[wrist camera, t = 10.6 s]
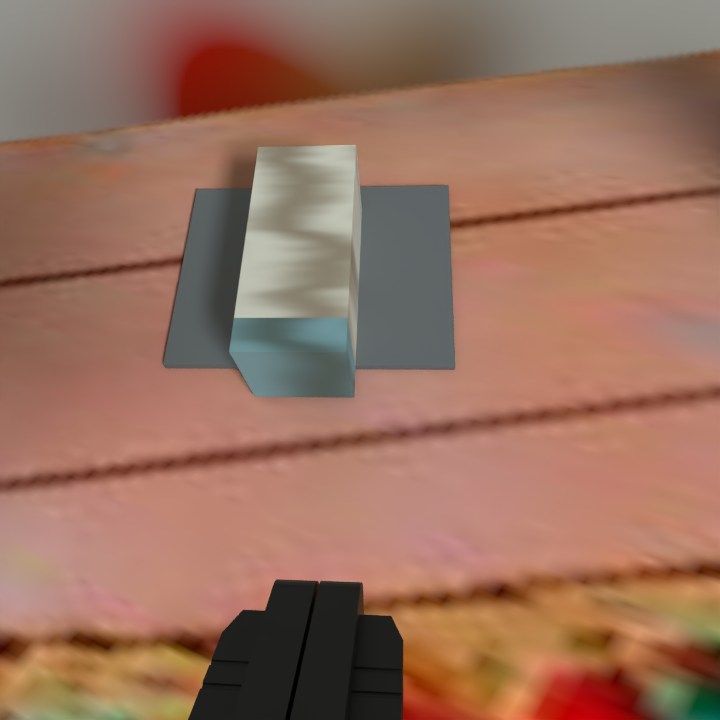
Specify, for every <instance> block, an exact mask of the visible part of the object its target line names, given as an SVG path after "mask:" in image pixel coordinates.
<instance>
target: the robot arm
mask: <svg viewBox="0 0 720 720" xmlns="http://www.w3.org/2000/svg"><path fill="white" fill-rule="evenodd" d="M188 720H403V639H402V637H401V635H400V633H399V631H398V629H397V627H396V625H395V623H394V621H393V619H392V617H391V616H378V615H364V604H363V584H362V583H360V582H334V581H321V582H320V584H319V582H318V581H303V580H276V581H275V583H274V585H273V588H272V591H271V594H270V597H269V600H268V604H267V607H266V610H265V611H256V610H243V611H242V612H241V613H240V614H239V615H238V616H237V617H236V618H235V619H234V620H233V621H232V622H231V624H230V625H229V626H228V627H227V628H226V629H225V630H224V631H223V632H222V634H221V637H220V639H219V642H218V645H217V647H216V650H215V652H214V655H213V657H212V662H211V665H209V668H208V670H207V673H206V675H205V678H204V680H203V686H202V689H200V691H199V693H198V696H197V698H196V701H195V703H194V706H193V709H192V711H191V714H190V716H189V719H188Z"/></svg>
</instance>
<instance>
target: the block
mask: <svg viewBox="0 0 720 720" xmlns="http://www.w3.org/2000/svg"><path fill="white" fill-rule="evenodd" d="M361 221H362V205H361V194H360V183H359V172H358V160H357V149H356V145H332V146H284V147H258V152H257V159H256V166H255V173H254V180H253V187H252V194H251V202H250V209H249V216H248V223H247V230H246V237H245V244H244V251H243V258H242V265H241V272H240V279H239V286H238V293H237V300H236V307H235V314H234V321H233V328H232V335H231V342H230V349H229V353H230V354H231V356H232V358H233V360H234V361H235V363H236V365H237V367H238V368H239V370H240V372H241V374H242V375H243V377H244V379H245V381H246V383H247V384H248V386H249V388H250V390H251V391H252V393H253V395H254V397H354V390H355V366H356V342H357V317H358V293H359V269H360V245H361Z"/></svg>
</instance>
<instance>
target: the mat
mask: <svg viewBox="0 0 720 720" xmlns="http://www.w3.org/2000/svg"><path fill="white" fill-rule="evenodd" d="M251 194H252V189H197V192H196V197H195V202H194V207H193V212H192V218H191V223H190V228H189V233H188V238H187V243H186V249H185V254H184V259H183V264H182V269H181V275H180V280H179V285H178V290H177V295H176V300H175V306H174V311H173V316H172V321H171V326H170V331H169V337H168V342H167V347H166V352H165V357H164V363H163V365H164V366H165V368H238V367H237V365H236V363H235V361H234V360H233V358H232V356H231V354H230V353H229V349H230V342H231V335H232V328H233V321H234V314H235V307H236V300H237V293H238V286H239V279H240V272H241V265H242V258H243V251H244V244H245V237H246V230H247V223H248V216H249V209H250V202H251ZM360 194H361V205H362V221H361V245H360V269H359V293H358V317H357V342H356V366H355V369H433V370H454V369H455V350H454V323H453V296H452V269H451V242H450V215H449V188H448V185H442V186H378V187H360Z"/></svg>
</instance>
